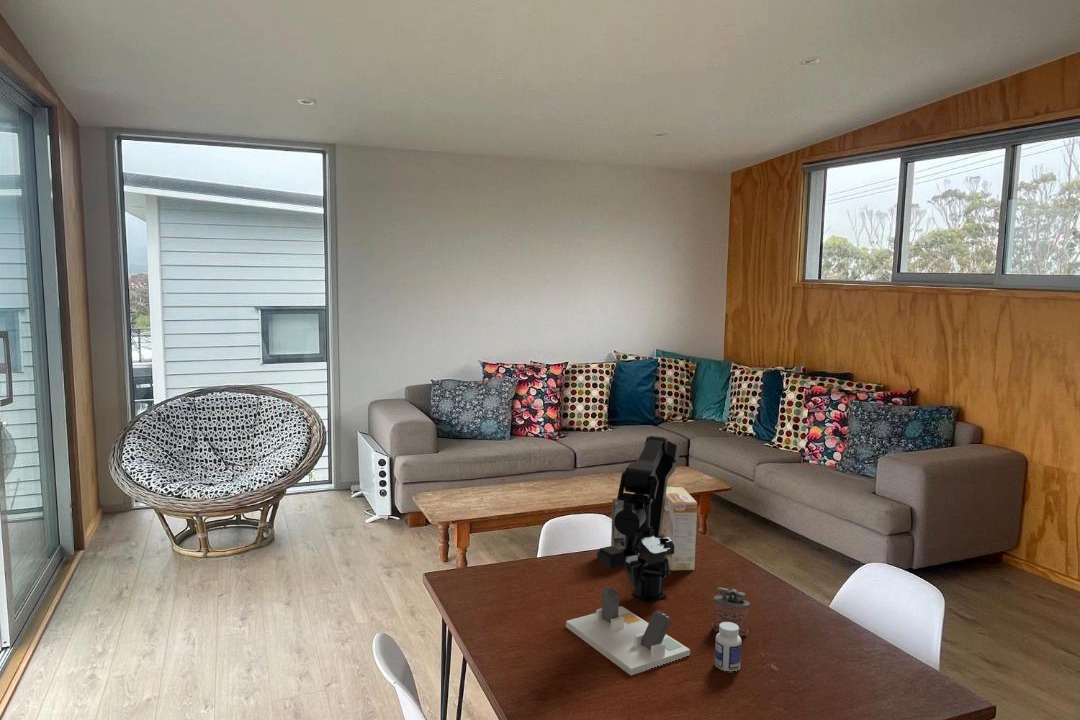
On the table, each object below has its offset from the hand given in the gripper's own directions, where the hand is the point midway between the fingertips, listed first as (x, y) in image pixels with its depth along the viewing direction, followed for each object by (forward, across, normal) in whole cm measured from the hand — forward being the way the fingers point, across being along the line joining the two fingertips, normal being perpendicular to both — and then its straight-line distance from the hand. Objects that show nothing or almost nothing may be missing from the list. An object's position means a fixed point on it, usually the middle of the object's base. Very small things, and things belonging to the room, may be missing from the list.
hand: (635, 586), depth 176 cm
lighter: (+9, +17, -14) cm, 24 cm away
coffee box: (+9, +23, +34) cm, 42 cm away
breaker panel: (+9, -7, -6) cm, 13 cm away
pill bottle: (+9, +5, -25) cm, 27 cm away
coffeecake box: (+9, +35, +25) cm, 44 cm away
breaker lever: (+6, -7, 0) cm, 9 cm away
